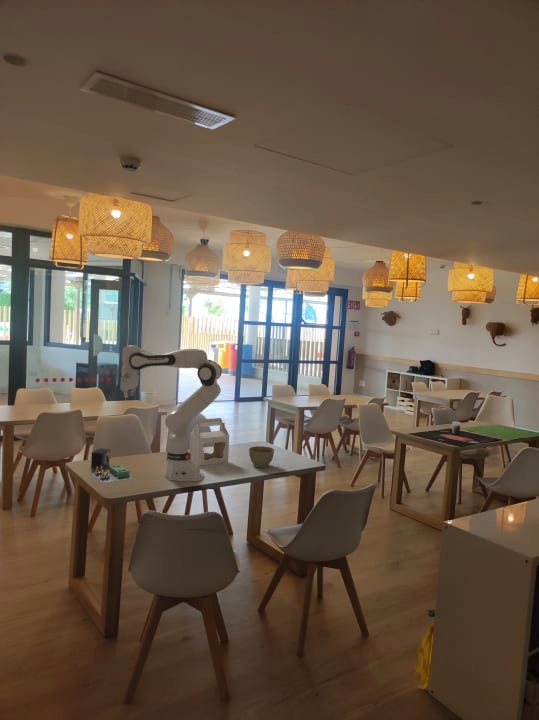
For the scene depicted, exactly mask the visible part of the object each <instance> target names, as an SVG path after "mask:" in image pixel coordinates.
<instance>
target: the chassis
mask: <svg viewBox="0 0 539 720" xmlns="http://www.w3.org/2000/svg"><path fill="white" fill-rule="evenodd" d="M90 474H91V475H93V477H95V479H98V481H100V482H101V483H103V484H105V483H112V482H118V481H125V480H132V479H133V477H132V476H130V475H129V476H127V477H120V478H118V477H116V476H115V475H114V474H112V473H111V472H109V469H107V470H103V468H102V466H101V469H98V466H97V467H96V469H95V471H94V472H91V473H90Z"/></svg>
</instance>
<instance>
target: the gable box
mask: <svg viewBox="0 0 539 720" xmlns="http://www.w3.org/2000/svg"><path fill="white" fill-rule="evenodd" d="M223 421H224V420H222V418H221V417H218V418H217V417H216V418H204V419H203V418H201V419H198V423H196V424H195V425H194V427H193V429H192V431H191V432H190V433H189V443H188V446H189V447H188V449H189V451H188V452H189V453H191V459H192V460H193V461H194V462H195V463H196V464H198V465H199V467H202V466H208V465H209V466H211V465H218V464H224V463H225V464H226V463H229V453H230V452H229V451H230V447H229V446H230V434H229V432H228V430H227V428H226V425H225V424H226V422H223ZM212 426H213V427H214V426H219V429H218V430H216V431H215V430H213V431H205V432H204V431H203V432H200V428H202V427H212ZM208 443H210V444H211V443H214V444H213V452H212V453H208V452H205V451H204V445H205V444H208Z"/></svg>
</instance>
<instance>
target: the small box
mask: <svg viewBox="0 0 539 720" xmlns="http://www.w3.org/2000/svg"><path fill="white" fill-rule="evenodd" d="M110 450H111V449H107V448H101V447H100V448H99V449H96V450H94V451H92V452H91V464H90V465H91V466H90V468H91V469H95V470H96V467H97V466H98V470H101V466H102V469H104V468H105V467H109V466H110V455H111V454H110V452H111V451H110Z"/></svg>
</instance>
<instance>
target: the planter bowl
mask: <svg viewBox="0 0 539 720" xmlns="http://www.w3.org/2000/svg"><path fill="white" fill-rule="evenodd" d="M274 454H275V449H274V448H273V447H270V446H260V445H259V446H258V445H257V446H251V447H249V448H248V455H249V458H250V460H251V462H252V465H253V467H256V468H261V469H263V468H268V467H269V466H270V464H271V462H272V461H273V457H274Z"/></svg>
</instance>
